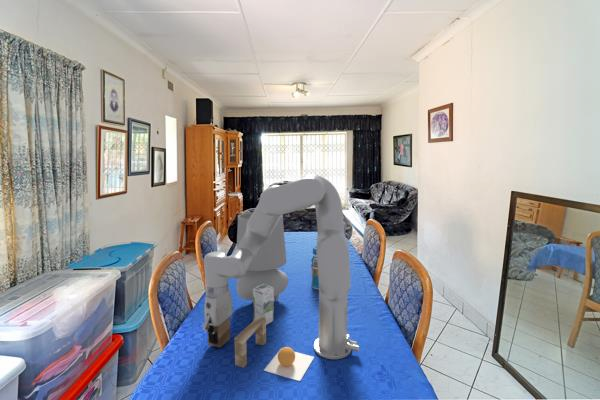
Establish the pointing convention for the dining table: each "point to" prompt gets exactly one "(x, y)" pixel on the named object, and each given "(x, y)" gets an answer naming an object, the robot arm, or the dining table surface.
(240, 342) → the bridge
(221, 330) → the brown block
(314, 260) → the beverage bottle
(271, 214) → the robot arm
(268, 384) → the dining table surface
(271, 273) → the table lamp
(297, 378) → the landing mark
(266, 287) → the syrup box
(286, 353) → the ball
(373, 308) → the dining table surface
